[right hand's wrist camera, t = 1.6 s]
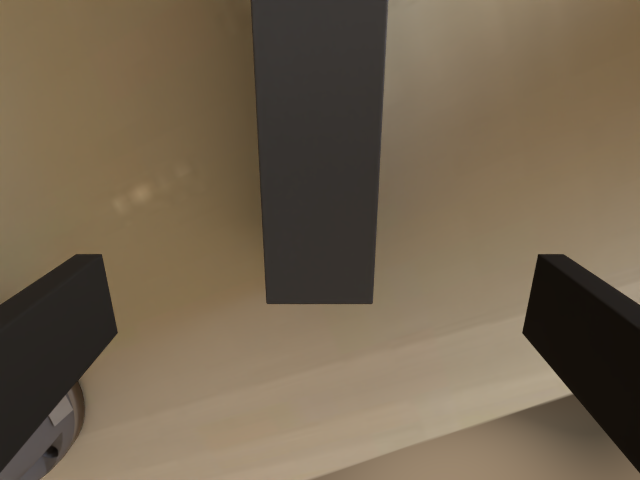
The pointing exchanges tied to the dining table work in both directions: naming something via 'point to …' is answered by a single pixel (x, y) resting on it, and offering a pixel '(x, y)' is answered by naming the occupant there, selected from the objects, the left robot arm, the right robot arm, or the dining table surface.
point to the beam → (319, 145)
